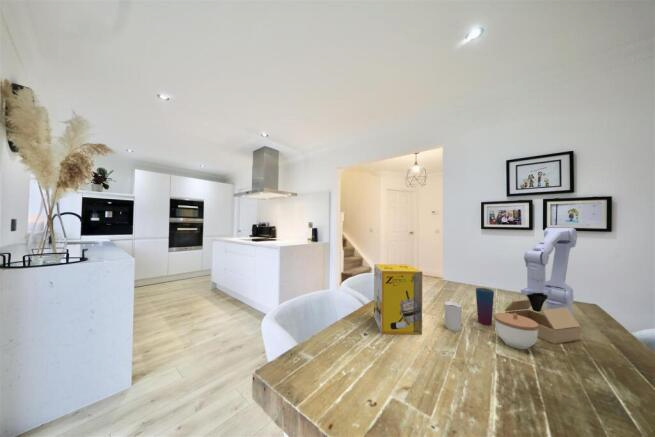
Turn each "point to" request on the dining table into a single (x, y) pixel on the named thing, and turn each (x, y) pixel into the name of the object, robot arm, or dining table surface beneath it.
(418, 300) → the packaging box
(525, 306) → the flap
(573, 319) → the flap
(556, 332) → the carton
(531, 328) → the lidded bowl
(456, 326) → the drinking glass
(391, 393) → the dining table surface
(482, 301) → the cup
